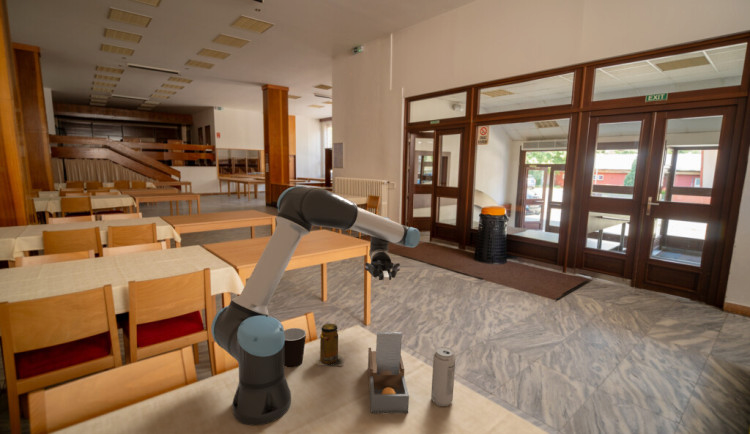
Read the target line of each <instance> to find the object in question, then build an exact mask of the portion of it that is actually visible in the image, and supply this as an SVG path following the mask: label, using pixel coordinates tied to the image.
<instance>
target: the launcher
mask: <svg viewBox="0 0 750 434" xmlns="http://www.w3.org/2000/svg"><path fill="white" fill-rule="evenodd" d="M367 352H368V355H367V372H368V373H367V374H368V387H369V391H368V392H370V376H373V383H374V389H385V388H387V387H390V388H392V389H401V376H404V377H405V365H404V362H403V357H402V356H401V361H400V363H399V375H377V374H376V369H377V364H376V350H372V347H368V351H367Z"/></svg>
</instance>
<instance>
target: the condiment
mask: <svg viewBox="0 0 750 434" xmlns="http://www.w3.org/2000/svg"><path fill="white" fill-rule="evenodd" d="M319 337H320V338H319V339H320V340H319V341H320V342H319V343H320V348H319V349H320V351H319V353H320V354H319V359H318V362H317V364H316V365H317V366H329V367H330V366H333V367H339V366H340V367H343V365H344V361H345V357H346V354H343V353H342V354H340V353H339V333H338V326H337V325H336V324H335V323H325V324H323V325H322V326H321V333H320V335H319Z"/></svg>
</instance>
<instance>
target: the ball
mask: <svg viewBox="0 0 750 434" xmlns="http://www.w3.org/2000/svg"><path fill="white" fill-rule="evenodd" d="M382 394H396V393H395V391H394V389H392V388H390V387H387V388H385V389H384V390H383V391H382Z"/></svg>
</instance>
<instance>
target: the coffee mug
mask: <svg viewBox="0 0 750 434" xmlns="http://www.w3.org/2000/svg"><path fill="white" fill-rule="evenodd" d="M284 336H285V342H284V367H286V368H289V369H290V368H297V367H299V366H301V365H302V364H303V360H304V354H305V353H304V352H305V346H306V337H307V331H306V330H305V329H304V328H300V327H290V328H287V329H284Z"/></svg>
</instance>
